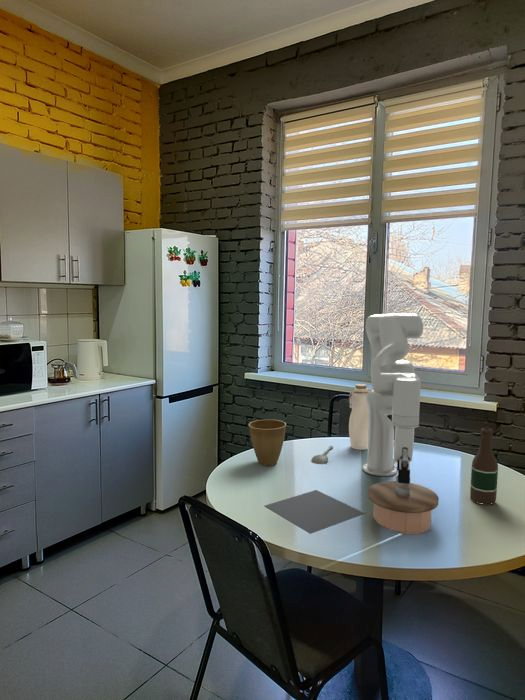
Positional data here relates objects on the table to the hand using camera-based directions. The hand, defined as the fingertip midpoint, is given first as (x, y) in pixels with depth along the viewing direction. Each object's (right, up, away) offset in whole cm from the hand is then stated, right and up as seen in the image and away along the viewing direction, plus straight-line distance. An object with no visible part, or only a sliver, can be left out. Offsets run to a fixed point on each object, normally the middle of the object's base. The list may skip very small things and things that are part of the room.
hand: (403, 476), depth 141 cm
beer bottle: (+31, -12, +16) cm, 36 cm away
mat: (-26, -13, +7) cm, 29 cm away
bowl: (0, -13, +1) cm, 13 cm away
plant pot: (-39, -8, +51) cm, 65 cm away
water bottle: (+1, -6, +72) cm, 72 cm away
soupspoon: (-15, -8, +60) cm, 62 cm away
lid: (0, -6, 0) cm, 6 cm away
